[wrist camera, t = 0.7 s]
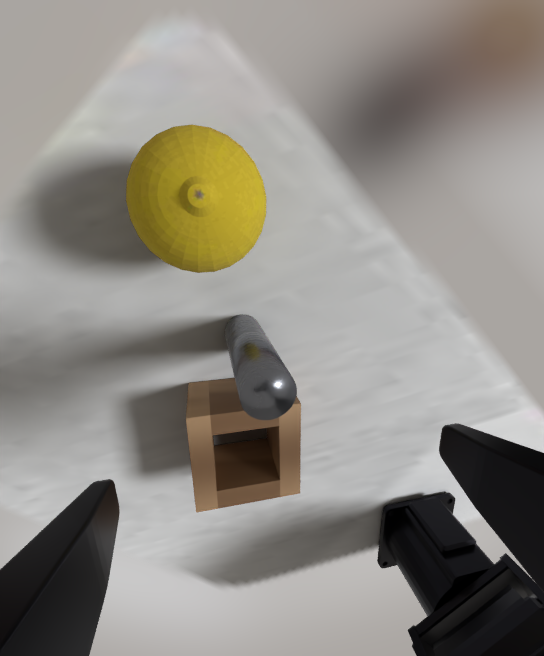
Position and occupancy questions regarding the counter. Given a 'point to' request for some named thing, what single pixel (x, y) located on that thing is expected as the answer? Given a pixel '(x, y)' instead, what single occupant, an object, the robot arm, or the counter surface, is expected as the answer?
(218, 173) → the lemon
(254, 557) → the counter surface
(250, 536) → the counter surface
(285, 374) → the peg
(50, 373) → the counter surface
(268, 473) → the block with square hole
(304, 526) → the counter surface
